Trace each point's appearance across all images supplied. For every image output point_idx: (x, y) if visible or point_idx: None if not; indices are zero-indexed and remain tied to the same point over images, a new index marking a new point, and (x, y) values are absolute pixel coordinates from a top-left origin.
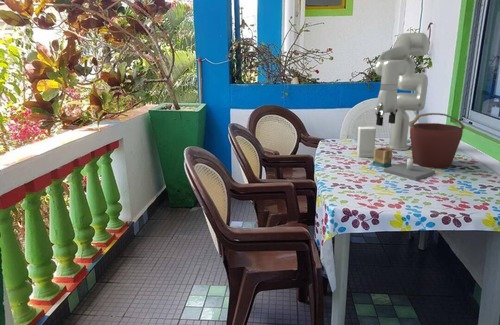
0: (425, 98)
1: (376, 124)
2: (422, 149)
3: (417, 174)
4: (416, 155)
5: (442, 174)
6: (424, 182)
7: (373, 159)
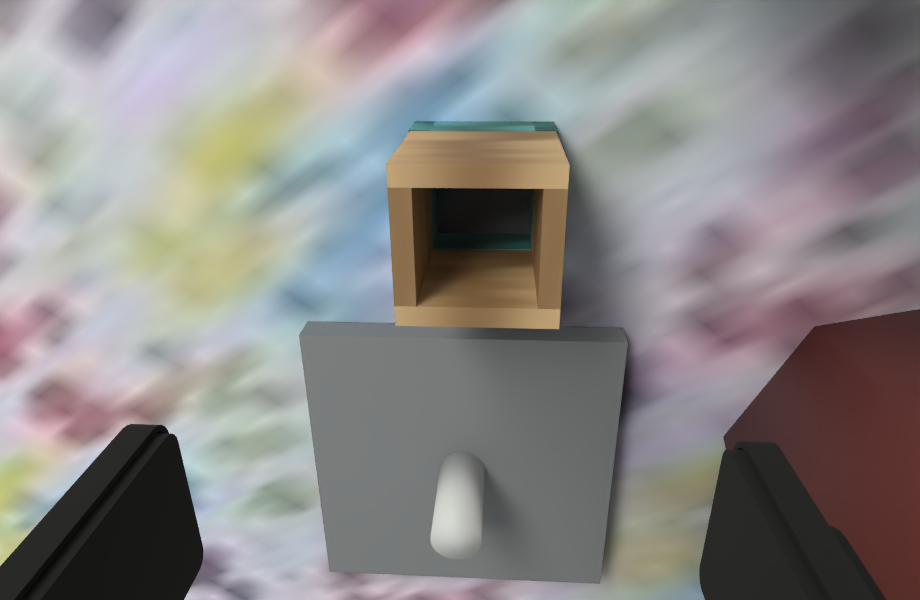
0: None
1: (128, 434)
2: None
3: (396, 554)
4: (796, 426)
5: (620, 595)
6: (351, 594)
7: (407, 135)
